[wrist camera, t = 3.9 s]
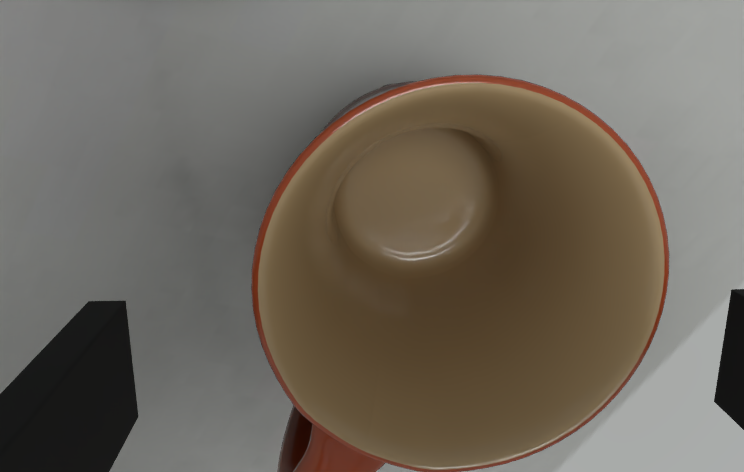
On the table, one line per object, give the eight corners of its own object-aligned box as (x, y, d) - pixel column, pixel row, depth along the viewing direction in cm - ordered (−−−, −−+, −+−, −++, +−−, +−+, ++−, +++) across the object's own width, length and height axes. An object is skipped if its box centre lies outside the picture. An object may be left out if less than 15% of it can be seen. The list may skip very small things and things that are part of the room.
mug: (362, 7, 22) (388, -17, 12) (579, 138, 24) (755, 211, 14) (199, 308, 25) (113, 488, 15) (405, 407, 26) (450, 629, 17)
